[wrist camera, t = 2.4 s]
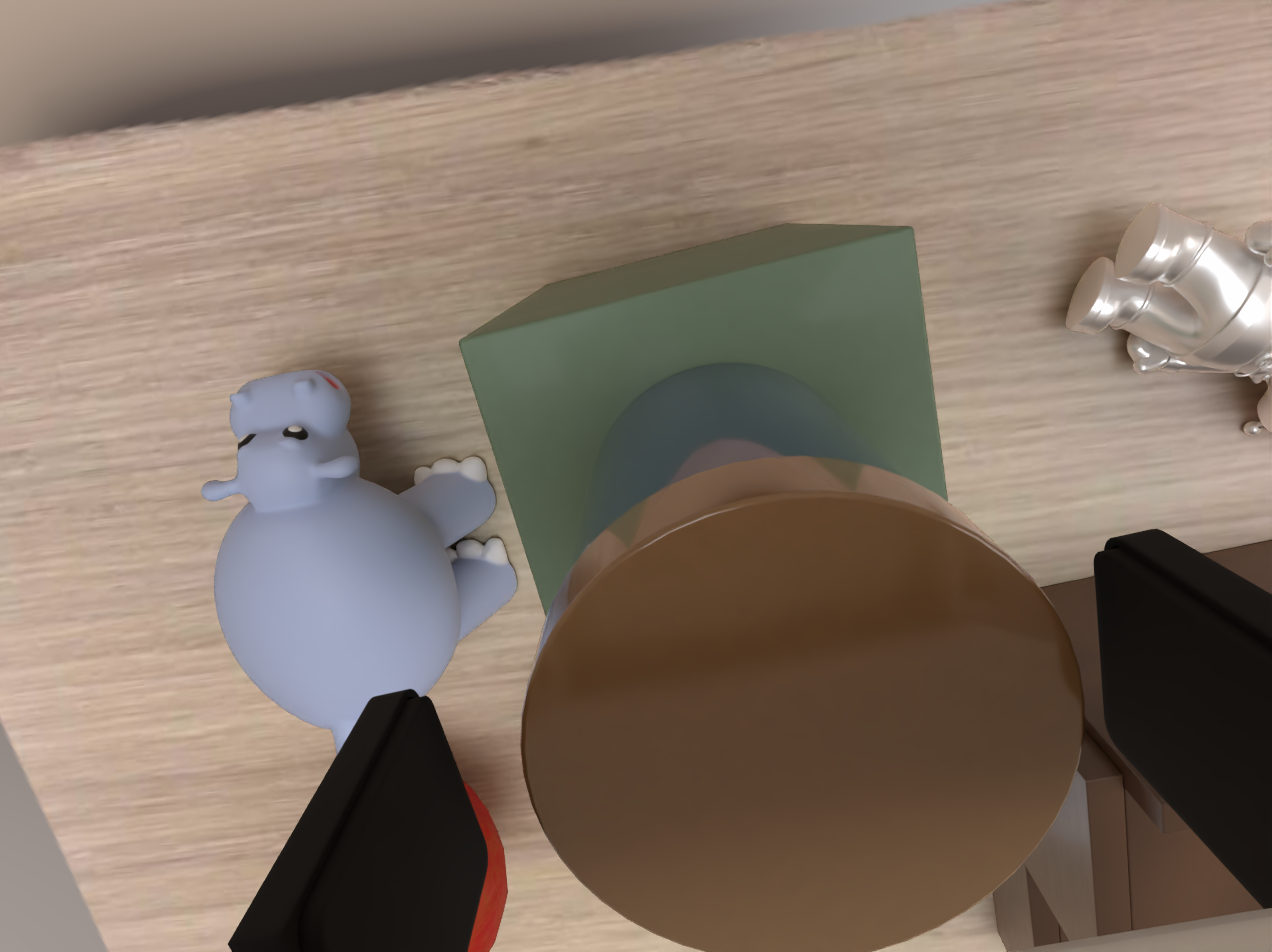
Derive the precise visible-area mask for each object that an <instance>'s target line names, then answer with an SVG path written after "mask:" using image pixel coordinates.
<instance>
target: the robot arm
mask: <svg viewBox="0 0 1272 952" xmlns="http://www.w3.org/2000/svg"><path fill="white" fill-rule="evenodd" d="M1094 575H1095V590H1096V605H1097V619H1098V634H1099V649H1100V664H1101V678H1102V693H1103V708H1104V720H1105V725H1106V728H1107V731H1108V733H1109V736H1110V738H1111V740H1112V741H1113V743H1114V745H1115V746H1116V747H1117V748H1118V750H1119V751H1120V752H1121V753H1122V754H1123V755H1124V756H1125V757H1126V758H1127V760H1128V761H1129V762H1130V763H1131V764H1132V765H1133V766H1134V767H1135V768H1136V769H1137V771H1138V772H1139V773H1140V774H1141V775H1142V776H1143V777H1144V778H1145V779H1146V780H1147V781H1148V783H1149V784H1150V785H1151V786H1152V787H1153V788H1154V789H1155V790H1156V791H1157V792H1158V794H1159V795H1160V796H1161V797H1162V798H1163V799H1164V800H1165V801H1166V802H1167V803H1168V804H1169V806H1170V807H1171V808H1172V809H1173V810H1174V811H1175V812H1176V813H1177V814H1178V815H1179V817H1180V818H1181V819H1182V820H1183V821H1184V822H1185V823H1186V824H1187V825H1188V826H1189V828H1190V829H1191V830H1192V831H1193V832H1194V833H1195V834H1196V835H1197V836H1198V837H1199V838H1200V840H1201V841H1202V842H1203V843H1204V844H1205V845H1206V846H1207V847H1208V848H1209V849H1210V851H1211V852H1212V853H1213V854H1214V855H1215V856H1216V857H1217V858H1218V859H1219V860H1220V861H1221V863H1222V864H1223V865H1224V866H1225V867H1226V868H1227V869H1228V870H1229V871H1230V872H1231V874H1232V875H1233V876H1234V877H1235V878H1236V879H1237V880H1238V881H1239V882H1240V883H1241V884H1242V886H1243V887H1244V888H1245V889H1246V890H1247V891H1248V892H1249V893H1250V894H1251V895H1252V897H1253V898H1254V899H1255V900H1256V901H1257V902H1258V903H1259V904H1260V905H1261V906H1262V907H1263V909H1262V910H1255V911H1248V912H1242V913H1236V914H1230V915H1224V916H1218V917H1212V918H1206V919H1200V920H1194V921H1188V922H1182V923H1176V924H1170V925H1164V926H1158V927H1152V928H1146V929H1140V930H1134V931H1128V932H1122V933H1116V934H1110V935H1104V936H1098V937H1092V938H1086V939H1080V940H1074V941H1068V942H1062V943H1056V944H1050V945H1044V946H1038V947H1032V948H1026V949H1020V950H1014V951H1008V952H1272V594H1270V593H1268V592H1267V591H1265V590H1263V589H1261V588H1260V587H1258V586H1256V585H1255V584H1253V583H1251V582H1249V581H1248V580H1246V579H1244V578H1243V577H1241V576H1239V575H1237V574H1236V573H1234V572H1232V571H1231V570H1229V569H1227V568H1225V567H1224V566H1222V565H1220V564H1219V563H1217V562H1215V561H1213V560H1212V559H1210V558H1208V557H1207V556H1205V555H1203V554H1201V553H1200V552H1198V551H1196V550H1195V549H1193V548H1191V547H1189V546H1188V545H1186V544H1184V543H1182V542H1181V541H1179V540H1177V539H1176V538H1174V537H1172V536H1170V535H1169V534H1167V533H1165V532H1164V531H1161V530H1158V529H1151V530H1146V531H1142V532H1137V533H1133V534H1128V535H1123V536H1119V537H1114V538H1110V539H1109V540H1108V541H1107V542H1106V545H1105V548H1104V551H1101V552H1098V553H1097V554H1096V555H1095V558H1094ZM487 869H488V849H487V844H486V841H485V838H484V835H483V832H482V830H481V827H480V825H479V822H478V819H477V817H476V814H475V812H474V809H473V806H472V804H471V801H470V799H469V796H468V793H467V791H466V788H465V786H464V783H463V780H462V778H461V775H460V773H459V770H458V767H457V765H456V762H455V760H454V757H453V754H452V752H451V749H450V746H449V744H448V741H447V739H446V736H445V733H444V731H443V728H442V726H441V723H440V720H439V718H438V715H437V713H436V710H435V707H434V705H433V703H432V701H431V699H430V698H429V697H427V696H422V697H419V695H418V694H417V692H416V691H415V690H413V689H407V690H402V691H397V692H393V693H388V694H383V695H379V696H375V697H372V698H371V699H370V700H369V701H368V703H367V704H366V706H365V708H364V710H363V711H362V713H361V715H360V717H359V718H358V720H357V722H356V723H355V725H354V727H353V729H352V730H351V732H350V734H349V736H348V737H347V739H346V741H345V742H344V744H343V746H342V748H341V749H340V751H339V753H338V755H337V756H336V758H335V760H334V761H333V763H332V765H331V767H330V768H329V770H328V772H327V774H326V775H325V777H324V779H323V780H322V782H321V784H320V786H319V787H318V789H317V791H316V793H315V794H314V796H313V798H312V799H311V801H310V803H309V805H308V806H307V808H306V810H305V812H304V813H303V815H302V817H301V818H300V820H299V822H298V824H297V825H296V827H295V829H294V831H293V832H292V834H291V836H290V837H289V839H288V841H287V843H286V844H285V846H284V848H283V850H282V851H281V853H280V855H279V856H278V858H277V860H276V862H275V863H274V865H273V867H272V869H271V870H270V872H269V874H268V875H267V877H266V879H265V881H264V882H263V884H262V886H261V888H260V889H259V891H258V893H257V894H256V896H255V898H254V900H253V901H252V903H251V905H250V907H249V908H248V910H247V912H246V913H245V915H244V917H243V919H242V920H241V922H240V924H239V926H238V927H237V929H236V931H235V932H234V934H233V936H232V938H231V939H230V941H229V943H228V945H229V947H230V949H231V951H232V952H468V948H469V944H470V940H471V936H472V932H473V927H474V923H475V919H476V915H477V911H478V907H479V903H480V898H481V894H482V890H483V886H484V882H485V878H486V874H487Z"/></svg>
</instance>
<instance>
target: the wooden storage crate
mask: <svg viewBox="0 0 1272 952" xmlns="http://www.w3.org/2000/svg"><path fill="white" fill-rule="evenodd" d="M1203 555H1205V556H1207V557H1208V558H1210V559H1212V560H1213V561H1215V562H1217V563H1219V564H1220V565H1222V566H1224V567H1225V568H1227V569H1229V570H1231V571H1232V572H1234V573H1236V574H1237V575H1239V576H1241V577H1243V578H1244V579H1246V580H1248V581H1249V582H1251V583H1253V584H1255V585H1256V586H1258V587H1260V588H1261V589H1263V590H1265V591H1267V592H1268V593H1270V594H1272V540H1270V541H1266V542H1261V543H1256V544H1251V545H1246V546H1241V547H1236V548H1232V549H1227V550H1222V551H1217V552H1212V553H1207V554H1203ZM1040 589H1041V590H1042V591H1043V593H1044V594H1045V595H1046V597H1047V598H1048V599H1049V601H1050V602H1051V603H1052V605H1053V606H1054V608H1055V610H1056V612H1057V613H1058V615H1059V617H1060V619H1061V621H1062V623H1063V625H1064V627H1065V629H1066V631H1067V633H1068V634H1069V637H1070V640H1071V643H1072V646H1073V649H1074V652H1075V655H1076V658H1077V661H1078V664H1079V667H1080V674H1081V680H1082V687H1083V693H1084V699H1085V722H1084V737H1083V743H1082V749H1081V755H1080V761H1079V765H1078V768H1077V771H1076V774H1075V777H1074V780H1073V783H1072V786H1071V789H1070V792H1069V794H1068V796H1067V798H1066V800H1065V802H1064V804H1063V806H1062V808H1061V810H1060V813H1059V815H1058V817H1057V819H1056V821H1055V822H1054V823H1053V825H1052V826H1051V828H1050V829H1049V831H1048V832H1047V834H1046V835H1045V837H1044V838H1043V840H1042V841H1041V843H1040V844H1039V846H1038V847H1037V848H1036V849H1035V850H1034V852H1033V853H1032V854H1031V855H1030V856H1029V857H1028V858H1027V860H1026V861H1025V862H1024V863H1023V864H1022V865H1021V866H1020V868H1019V869H1018V870H1017V871H1016V872H1015V873H1014V874H1013V875H1011V876H1010V877H1009V878H1008V879H1007V880H1006V881H1005V882H1004V883H1003V884H1001V885H1000V886H999V887H998V888H997V889H996V890H995V891H994V892H993V896H994V903H995V911H996V919H997V927H998V933H999V935H1000V937H1001V940H1002V942H1003V944H1004V946H1005V948H1006V950H1007V952H1008V951H1014V950H1020V949H1026V948H1032V947H1038V946H1044V945H1050V944H1056V943H1062V942H1068V941H1074V940H1080V939H1086V938H1092V937H1098V936H1104V935H1110V934H1116V933H1122V932H1128V931H1134V930H1140V929H1146V928H1152V927H1158V926H1164V925H1170V924H1176V923H1182V922H1188V921H1194V920H1200V919H1206V918H1212V917H1218V916H1224V915H1230V914H1236V913H1242V912H1248V911H1255V910H1262V909H1263V907H1262V906H1261V905H1260V904H1259V903H1258V902H1257V901H1256V900H1255V899H1254V898H1253V897H1252V895H1251V894H1250V893H1249V892H1248V891H1247V890H1246V889H1245V888H1244V887H1243V886H1242V884H1241V883H1240V882H1239V881H1238V880H1237V879H1236V878H1235V877H1234V876H1233V875H1232V874H1231V872H1230V871H1229V870H1228V869H1227V868H1226V867H1225V866H1224V865H1223V864H1222V863H1221V861H1220V860H1219V859H1218V858H1217V857H1216V856H1215V855H1214V854H1213V853H1212V852H1211V851H1210V849H1209V848H1208V847H1207V846H1206V845H1205V844H1204V843H1203V842H1202V841H1201V840H1200V838H1199V837H1198V836H1197V835H1196V834H1195V833H1194V832H1193V831H1192V830H1191V829H1190V828H1189V826H1188V825H1187V824H1186V823H1185V822H1184V821H1183V820H1182V819H1181V818H1180V817H1179V815H1178V814H1177V813H1176V812H1175V811H1174V810H1173V809H1172V808H1171V807H1170V806H1169V804H1168V803H1167V802H1166V801H1165V800H1164V799H1163V798H1162V797H1161V796H1160V795H1159V794H1158V792H1157V791H1156V790H1155V789H1154V788H1153V787H1152V786H1151V785H1150V784H1149V783H1148V781H1147V780H1146V779H1145V778H1144V777H1143V776H1142V775H1141V774H1140V773H1139V772H1138V771H1137V769H1136V768H1135V767H1134V766H1133V765H1132V764H1131V763H1130V762H1129V761H1128V760H1127V758H1126V757H1125V756H1124V755H1123V754H1122V753H1121V752H1120V751H1119V750H1118V748H1117V747H1116V746H1115V745H1114V743H1113V741H1112V740H1111V738H1110V736H1109V733H1108V731H1107V728H1106V725H1105V720H1104V708H1103V693H1102V678H1101V664H1100V649H1099V634H1098V619H1097V605H1096V590H1095V577H1091V578H1086V579H1081V580H1076V581H1071V582H1067V583H1062V584H1057V585H1052V586H1047V587H1042V588H1040Z"/></svg>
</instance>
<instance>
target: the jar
mask: <svg viewBox="0 0 1272 952" xmlns="http://www.w3.org/2000/svg"><path fill="white" fill-rule="evenodd" d="M1084 722H1085V699H1084V693H1083V687H1082V680H1081V674H1080V667H1079V664H1078V661H1077V658H1076V655H1075V652H1074V649H1073V646H1072V643H1071V640H1070V637H1069V634H1068V633H1067V631H1066V629H1065V627H1064V625H1063V623H1062V621H1061V619H1060V617H1059V615H1058V613H1057V612H1056V610H1055V608H1054V606H1053V605H1052V603H1051V602H1050V601H1049V599H1048V598H1047V597H1046V595H1045V594H1044V593H1043V591H1042V590H1041V589H1040V587H1039V586H1038V585H1037V583H1036V582H1035V581H1034V579H1033V578H1032V577H1031V576H1030V575H1029V574H1028V573H1027V572H1025V571H1024V570H1023V569H1022V568H1021V567H1020V566H1019V565H1018V564H1017V563H1016V562H1015V561H1014V560H1013V559H1012V558H1011V557H1010V556H1009V555H1008V554H1007V553H1006V552H1005V551H1004V550H1003V549H1002V548H1000V547H999V546H998V545H997V544H996V543H995V542H994V541H993V540H992V539H991V538H990V537H989V536H988V535H986V534H985V533H984V532H983V531H982V530H981V529H980V528H979V527H978V526H977V525H976V524H975V523H974V522H972V521H971V520H970V519H969V518H968V517H967V516H966V515H965V514H964V513H963V512H961V511H960V510H959V509H957V508H956V507H954V506H953V505H952V504H950V503H949V502H947V501H946V500H945V499H943V498H942V497H940V496H939V495H938V494H936V493H934V492H932V491H930V490H928V489H927V488H925V487H923V486H921V485H919V484H917V483H915V482H913V481H911V480H909V479H907V478H906V477H905V476H904V475H903V474H902V473H901V472H900V471H899V470H898V469H897V468H896V467H895V466H894V465H893V464H892V463H891V462H890V461H889V460H888V459H887V458H886V457H885V456H884V455H883V454H882V453H881V452H880V451H879V450H878V449H877V448H876V447H875V446H874V445H873V444H872V443H871V442H870V441H869V440H868V439H867V438H866V437H865V436H864V435H863V434H862V433H861V432H860V431H859V430H858V429H857V428H856V427H855V426H854V425H853V424H852V423H851V422H850V421H849V420H848V419H847V418H846V417H845V416H844V415H843V414H842V413H841V412H840V411H839V410H838V409H837V408H836V407H835V406H834V405H833V404H832V403H830V402H829V401H828V400H827V399H826V398H825V397H824V396H823V395H822V394H821V393H820V392H818V391H817V390H815V389H814V388H813V387H811V386H810V385H808V384H807V383H805V382H803V381H802V380H800V379H798V378H796V377H794V376H792V375H790V374H787V373H785V372H782V371H779V370H776V369H774V368H770V367H765V366H761V365H756V364H747V363H736V362H735V363H715V364H710V365H704V366H698V367H695V368H691V369H688V370H685V371H682V372H679V373H677V374H674V375H672V376H670V377H668V378H666V379H664V380H662V381H660V382H658V383H657V384H655V385H654V386H652V387H650V388H649V389H647V390H646V391H644V392H643V393H642V394H641V395H640V396H638V397H637V398H636V399H635V400H634V401H632V402H631V403H630V404H629V405H628V406H627V408H626V409H625V410H624V411H623V412H622V413H621V414H620V415H619V416H618V418H617V419H616V421H615V422H614V423H613V425H612V426H611V428H610V429H609V430H608V432H607V434H606V436H605V438H604V440H603V442H602V444H601V446H600V448H599V451H598V454H597V457H596V459H595V462H594V467H593V471H592V476H591V480H590V485H589V489H588V494H587V498H586V503H585V507H584V512H583V516H582V520H581V525H580V529H579V534H578V538H577V543H576V547H575V552H574V556H573V561H572V565H571V570H570V571H569V572H568V574H567V575H566V577H565V579H564V581H563V583H562V584H561V586H560V588H559V590H558V592H557V594H556V596H555V597H554V599H553V601H552V604H551V606H550V609H549V612H548V614H547V617H546V620H545V623H544V625H543V628H542V631H541V635H540V639H539V643H538V647H537V651H536V655H535V658H534V662H533V666H532V670H531V674H530V678H529V682H528V686H527V691H526V696H525V701H524V706H523V711H522V719H521V743H520V746H521V755H522V764H523V773H524V778H525V781H526V785H527V789H528V792H529V796H530V800H531V803H532V806H533V808H534V811H535V813H536V815H537V817H538V820H539V822H540V824H541V826H542V829H543V831H544V833H545V835H546V836H547V838H548V840H549V841H550V843H551V844H552V846H553V847H554V849H555V851H556V852H557V854H558V855H559V857H560V859H561V860H562V861H563V862H564V863H565V864H566V866H567V867H568V868H569V869H570V870H571V872H572V873H573V874H574V875H575V876H576V877H577V879H578V880H579V881H580V882H581V883H582V884H583V885H584V886H586V887H587V888H588V889H589V890H590V891H591V892H592V893H593V894H594V895H595V896H597V897H598V898H599V899H600V900H601V901H602V902H603V903H605V904H606V905H608V906H609V907H611V908H612V909H613V910H615V911H616V912H618V913H619V914H621V915H622V916H623V917H625V918H626V919H628V920H630V921H632V922H633V923H635V924H637V925H639V926H641V927H643V928H644V929H646V930H648V931H650V932H652V933H654V934H656V935H659V936H661V937H663V938H666V939H668V940H671V941H673V942H676V943H678V944H681V945H683V946H687V947H690V948H694V949H697V950H701V951H704V952H872V951H877V950H880V949H883V948H886V947H889V946H892V945H895V944H898V943H901V942H905V941H908V940H910V939H912V938H914V937H917V936H919V935H921V934H924V933H926V932H928V931H931V930H933V929H935V928H937V927H939V926H941V925H943V924H945V923H946V922H948V921H950V920H952V919H953V918H955V917H957V916H959V915H961V914H962V913H964V912H966V911H967V910H969V909H970V908H971V907H973V906H974V905H976V904H977V903H978V902H980V901H981V900H983V899H984V898H986V897H987V896H988V895H990V894H991V893H993V892H994V891H995V890H996V889H997V888H998V887H999V886H1000V885H1001V884H1003V883H1004V882H1005V881H1006V880H1007V879H1008V878H1009V877H1010V876H1011V875H1013V874H1014V873H1015V872H1016V871H1017V870H1018V869H1019V868H1020V866H1021V865H1022V864H1023V863H1024V862H1025V861H1026V860H1027V858H1028V857H1029V856H1030V855H1031V854H1032V853H1033V852H1034V850H1035V849H1036V848H1037V847H1038V846H1039V844H1040V843H1041V841H1042V840H1043V838H1044V837H1045V835H1046V834H1047V832H1048V831H1049V829H1050V828H1051V826H1052V825H1053V823H1054V822H1055V821H1056V819H1057V817H1058V815H1059V813H1060V810H1061V808H1062V806H1063V804H1064V802H1065V800H1066V798H1067V796H1068V794H1069V792H1070V789H1071V786H1072V783H1073V780H1074V777H1075V774H1076V771H1077V768H1078V765H1079V761H1080V755H1081V749H1082V743H1083V737H1084Z"/></svg>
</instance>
